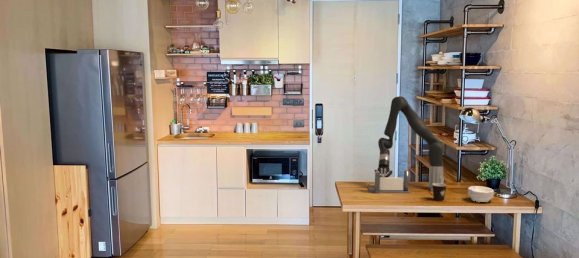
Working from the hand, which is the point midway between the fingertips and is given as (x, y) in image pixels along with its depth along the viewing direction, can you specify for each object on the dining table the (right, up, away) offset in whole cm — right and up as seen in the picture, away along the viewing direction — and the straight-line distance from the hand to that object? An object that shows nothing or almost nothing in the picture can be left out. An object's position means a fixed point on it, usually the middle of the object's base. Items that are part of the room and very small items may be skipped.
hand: (382, 182), depth 317 cm
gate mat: (+5, -6, +4) cm, 8 cm away
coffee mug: (+30, -9, -22) cm, 38 cm away
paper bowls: (+57, -9, -24) cm, 63 cm away
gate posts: (+5, -7, -4) cm, 9 cm away
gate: (+4, -5, -2) cm, 7 cm away
